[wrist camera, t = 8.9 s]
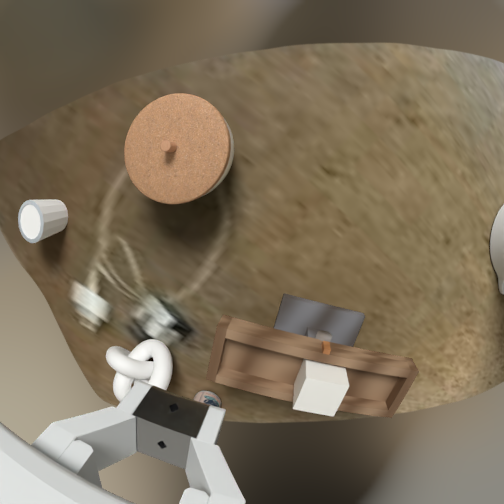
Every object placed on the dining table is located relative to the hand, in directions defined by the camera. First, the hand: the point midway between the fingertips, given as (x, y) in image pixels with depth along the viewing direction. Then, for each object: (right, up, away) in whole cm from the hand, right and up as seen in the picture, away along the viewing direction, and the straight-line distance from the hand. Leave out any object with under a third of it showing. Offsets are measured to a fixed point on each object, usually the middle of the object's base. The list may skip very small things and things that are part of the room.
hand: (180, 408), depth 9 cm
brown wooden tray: (+11, -8, +35) cm, 38 cm away
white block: (+11, -10, +27) cm, 31 cm away
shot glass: (-31, +11, +37) cm, 50 cm away
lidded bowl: (-5, +18, +32) cm, 37 cm away
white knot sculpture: (-15, -14, +41) cm, 46 cm away
